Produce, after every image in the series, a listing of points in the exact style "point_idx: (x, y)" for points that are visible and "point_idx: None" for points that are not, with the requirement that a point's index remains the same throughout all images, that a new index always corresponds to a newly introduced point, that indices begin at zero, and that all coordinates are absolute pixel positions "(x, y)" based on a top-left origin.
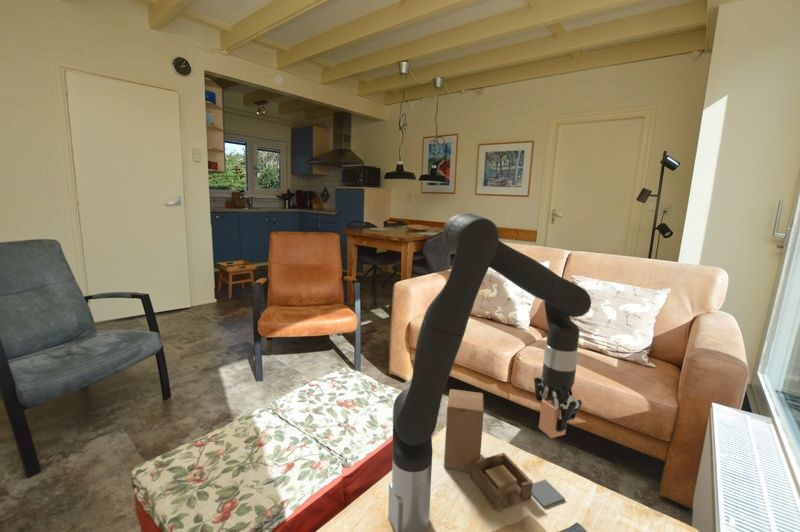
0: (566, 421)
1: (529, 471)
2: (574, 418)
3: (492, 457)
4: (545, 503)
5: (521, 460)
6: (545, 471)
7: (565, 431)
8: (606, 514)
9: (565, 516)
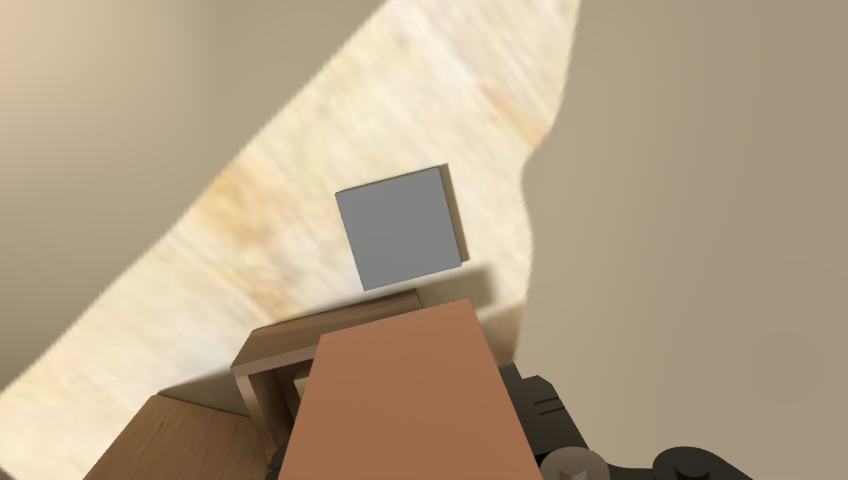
0: (582, 439)
1: (275, 231)
2: (720, 462)
3: (261, 423)
4: (452, 254)
5: (206, 236)
6: (277, 161)
7: (472, 308)
8: (523, 35)
9: (505, 203)
